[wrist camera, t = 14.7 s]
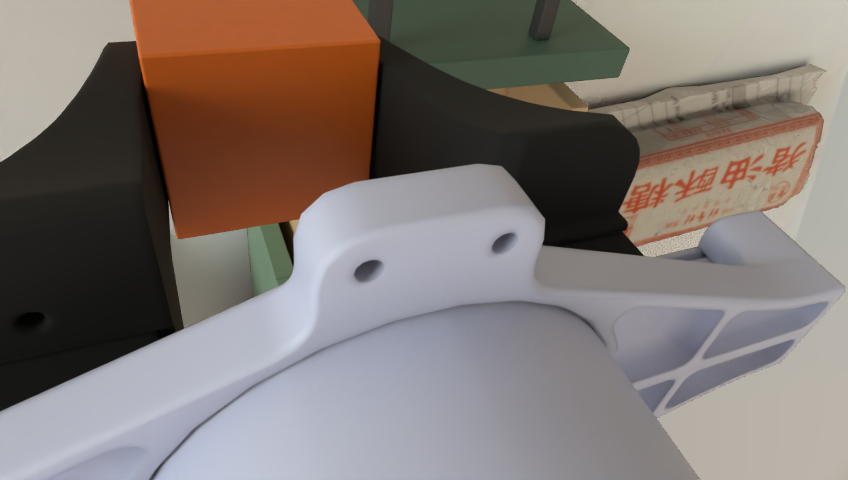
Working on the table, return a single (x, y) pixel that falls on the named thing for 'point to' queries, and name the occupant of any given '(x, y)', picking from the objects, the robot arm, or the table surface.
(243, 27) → the cube
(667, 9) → the table surface
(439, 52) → the drawer
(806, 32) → the table surface
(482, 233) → the robot arm
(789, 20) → the table surface
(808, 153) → the packaged product
